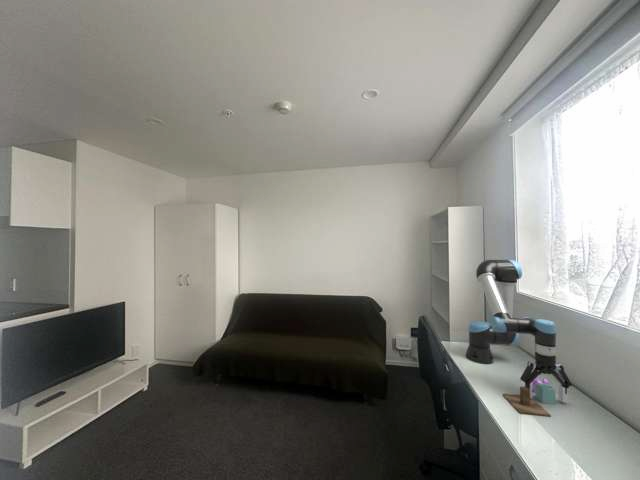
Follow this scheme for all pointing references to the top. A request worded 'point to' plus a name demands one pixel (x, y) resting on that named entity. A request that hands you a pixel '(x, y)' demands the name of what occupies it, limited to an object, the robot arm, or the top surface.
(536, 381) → the bracket
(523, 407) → the brown square panel
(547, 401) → the teal rectangular block
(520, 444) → the top surface
